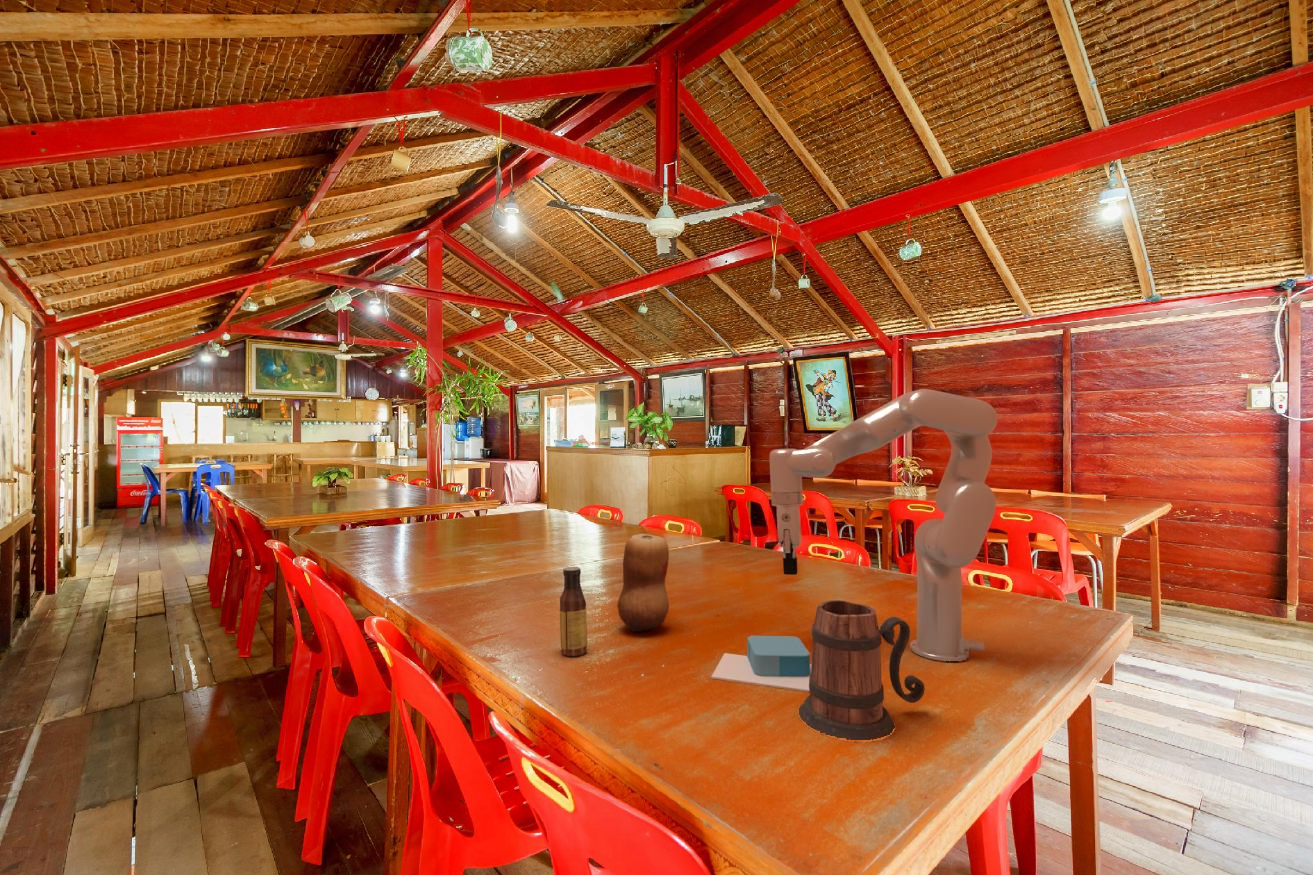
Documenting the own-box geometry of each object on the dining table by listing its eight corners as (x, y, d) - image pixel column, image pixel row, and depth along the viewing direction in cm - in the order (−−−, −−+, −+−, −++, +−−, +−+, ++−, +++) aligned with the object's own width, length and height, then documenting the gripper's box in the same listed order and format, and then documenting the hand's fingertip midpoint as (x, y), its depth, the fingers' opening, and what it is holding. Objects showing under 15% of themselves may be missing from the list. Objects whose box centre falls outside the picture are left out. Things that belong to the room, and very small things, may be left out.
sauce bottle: (592, 650, 135) (592, 567, 135) (577, 659, 130) (578, 572, 130) (569, 646, 138) (569, 564, 138) (553, 654, 132) (554, 569, 133)
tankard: (822, 746, 94) (822, 624, 94) (783, 700, 110) (784, 596, 110) (951, 735, 97) (952, 618, 97) (895, 692, 114) (895, 592, 114)
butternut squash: (663, 640, 143) (663, 540, 143) (611, 636, 145) (612, 538, 145) (672, 623, 156) (673, 532, 156) (625, 619, 159) (626, 530, 159)
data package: (746, 654, 132) (754, 676, 120) (746, 635, 132) (754, 654, 120) (798, 655, 132) (811, 676, 120) (798, 635, 132) (811, 655, 120)
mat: (813, 666, 127) (813, 664, 127) (809, 692, 114) (809, 690, 114) (724, 654, 133) (724, 653, 133) (711, 678, 120) (711, 676, 120)
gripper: (800, 502, 131) (804, 581, 131) (804, 495, 146) (808, 567, 145) (767, 502, 134) (771, 580, 133) (774, 496, 148) (778, 566, 148)
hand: (790, 573), depth 139 cm, fingers closed
